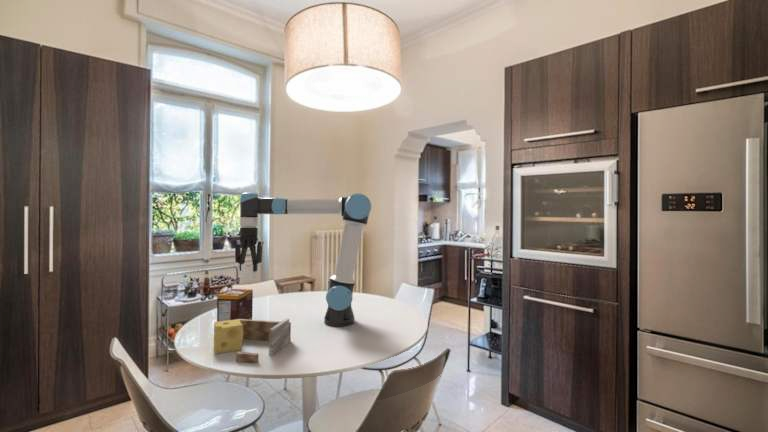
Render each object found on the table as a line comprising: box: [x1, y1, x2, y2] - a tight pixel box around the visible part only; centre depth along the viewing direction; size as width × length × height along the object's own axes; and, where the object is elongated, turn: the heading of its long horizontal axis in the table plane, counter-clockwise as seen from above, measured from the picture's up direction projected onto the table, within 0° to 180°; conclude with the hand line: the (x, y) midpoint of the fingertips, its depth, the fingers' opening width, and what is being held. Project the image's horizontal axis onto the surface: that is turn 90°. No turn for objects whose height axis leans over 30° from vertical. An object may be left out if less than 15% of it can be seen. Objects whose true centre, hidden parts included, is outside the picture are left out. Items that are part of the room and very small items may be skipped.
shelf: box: [235, 318, 292, 364], centre depth 142 cm, size 24×24×10 cm
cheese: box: [213, 319, 244, 355], centre depth 143 cm, size 10×11×10 cm
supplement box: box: [216, 288, 254, 322], centre depth 174 cm, size 10×15×16 cm
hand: (248, 278), depth 161 cm, fingers open, 4 cm apart
